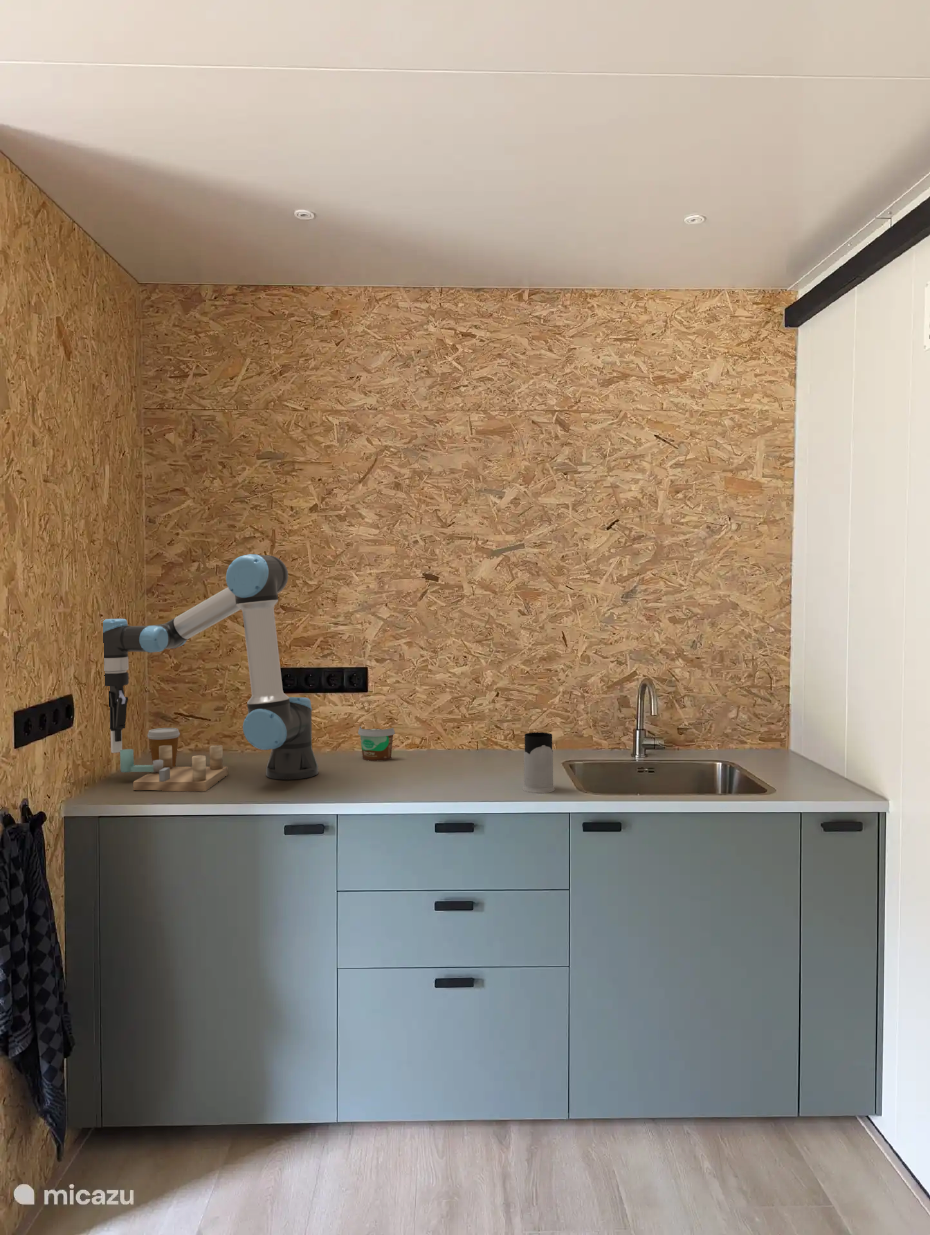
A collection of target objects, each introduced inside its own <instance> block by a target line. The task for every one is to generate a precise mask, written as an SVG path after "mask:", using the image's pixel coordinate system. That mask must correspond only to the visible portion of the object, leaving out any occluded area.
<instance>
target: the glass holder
mask: <svg viewBox="0 0 930 1235" xmlns="http://www.w3.org/2000/svg"><path fill="white" fill-rule="evenodd" d="M554 786H555V785H554V750H553V734H552V733H549V732H543V731H541V732H540V731H539V732H528V733H527V732H526V733H525V734H524V751H523V786H522V790H523V791H524V792H526V793H532V794H546V793H548V794H549V793H551V792H554V791H555V790H556V789H555V787H554Z"/></svg>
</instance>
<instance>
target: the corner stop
mask: <svg viewBox="0 0 930 1235" xmlns="http://www.w3.org/2000/svg"><path fill="white" fill-rule="evenodd" d="M168 779H170V768H163V769H161V770H159V782H165V781H166V780H168Z"/></svg>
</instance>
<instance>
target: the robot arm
mask: <svg viewBox="0 0 930 1235" xmlns="http://www.w3.org/2000/svg"><path fill="white" fill-rule="evenodd" d="M288 580H289V571H288V568H287V566H286V564H285V563H284V561H282V559H280V558H278V557H276V556H273V555H266V554H256V553H254V554H253V553H250V554H244V555H240V556H238V557H236V558H235V559H234V560H233V561H232V562H231V563H230V564H229V566H228V567H227V570H226V574H225V582H226V585H227V587H225V588H224V589H222V590H221V591H219V592H217V593H215V594H213V595H212V596H210V597H209V598H206V599H204V600H203V601H201V602H200V603H197V605H194V606H192V607H190V609H187V610H186V611H184V612H183V613H181V614H178V615H176V617H174V618H172V619H170V620H169V621H167V622H165V623H162V624H151V625H129V624H128V620H127V619H125V618H104V619H105V620H104V619H103V620H104V621H103V643H104V671H105V675H104V676H105V686H104V687H107V686H110V691H109V707H110V728H109V730H110V753H112V754H117V753H120V750H123V732H122V731H123V729H126V721H127V720H126V719H127V707H128V702H129V697H128V696H125V690H124V687H125V686H127V685H129V684H130V682H129V680H130V679H129V677H130V676H129V672H128V670H129V669H130V668H129V652H133V653H134V652H139V653H151V654H152V653H158V652H159V653H160V652H162V651H164V650H168V649H176V648H179V647H181V646H182V647H183V645H185V644H186V642H187V641H188V640H189V639H191V638H193V637H195V636H196V635H197V634H200V633H201V632H204V631H205V630H207V629H209V628H210V627H212V626H214V625H215V624H218V623H219V622H221V621H222V620H223V621H224V619H227V618H228V617H229V616H232V615H233V614H235V613H237V612H239V611H240V610H241V612H242V620H243V627H244V638H245V646H246V656H247V664H248V672H249V683H250V690H251V692H250V693H251V696H250V698H249V699H248V700H247V703H246V706H247V714H246V716H245V718H244V720H243V723H242V731H243V736H244V737H245V739H246V740H247V742H248V743H249V744H251V745H252V746H253V748H256V749H257V750H258V749H259V750H262V751H263V750H264V751H268V750H271V751H270V754H269V757H268V761H267V763H266V764H267V765H266V768H265V776H266V777H267V778H270V779H274V780H288V781H289V780H290V781H291V780H300V779H306V778H307V779H308V778H311V777H314V776H317V775H318V774H319V765H318V762H317V758H316V756H315V754H314V753H315V752H314V750H313V742H312V741H313V738H312V736H313V735H312V734H313V730H312V712H313V708H312V702H311V699H310V698H309V697H297V696H295V697H294V696H288V695H287V694H286V693H284V690H283V681H282V679H283V678H282V672H281V664H280V663H281V662H280V661H281V660H280V653H279V645H278V636H277V635H278V634H277V628H276V617H275V609H274V608H275V606H276V605H277V604H278V602H279V597H278V596H279V594H280V592H282V591H283V590H284V589H285V587H286V586H287V583H288Z"/></svg>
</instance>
